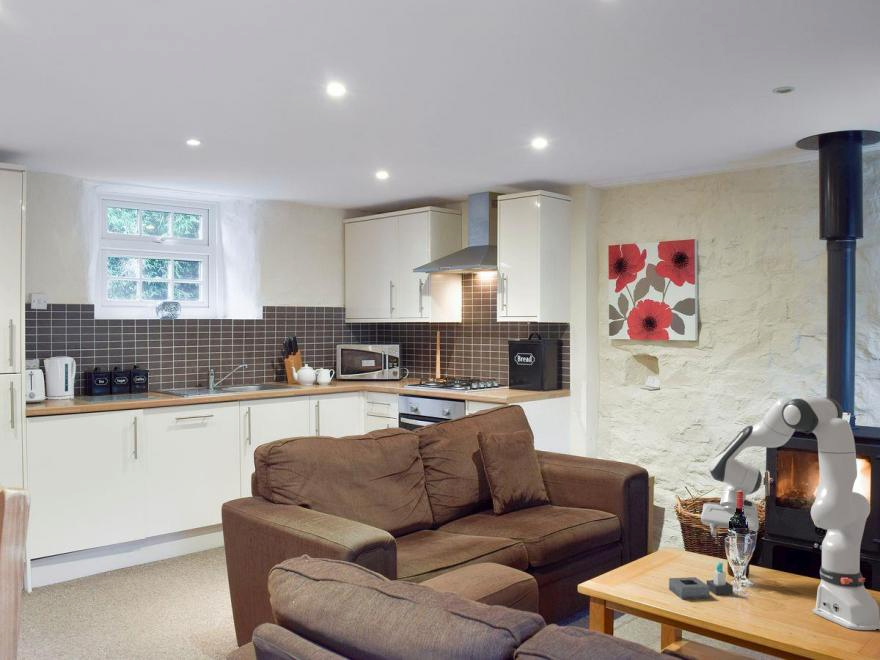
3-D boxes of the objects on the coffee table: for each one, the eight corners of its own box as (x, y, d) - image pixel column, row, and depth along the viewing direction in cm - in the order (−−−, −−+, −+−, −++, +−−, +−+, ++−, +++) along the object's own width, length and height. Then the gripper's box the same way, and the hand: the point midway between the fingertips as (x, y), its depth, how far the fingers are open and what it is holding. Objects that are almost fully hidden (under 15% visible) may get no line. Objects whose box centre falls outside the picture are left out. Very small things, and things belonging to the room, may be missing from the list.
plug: (725, 592, 265) (725, 564, 265) (717, 593, 265) (717, 564, 265) (721, 589, 268) (721, 561, 268) (713, 590, 268) (713, 562, 268)
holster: (732, 594, 264) (732, 585, 264) (715, 594, 263) (715, 586, 263) (723, 588, 270) (723, 579, 270) (706, 588, 269) (706, 580, 269)
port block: (709, 598, 260) (709, 586, 260) (681, 599, 258) (682, 587, 258) (695, 588, 270) (695, 577, 270) (669, 589, 268) (669, 578, 268)
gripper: (702, 496, 289) (696, 527, 281) (759, 504, 279) (754, 536, 270) (705, 505, 293) (698, 536, 285) (761, 513, 282) (756, 545, 274)
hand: (726, 536), depth 277 cm, fingers open, 8 cm apart
